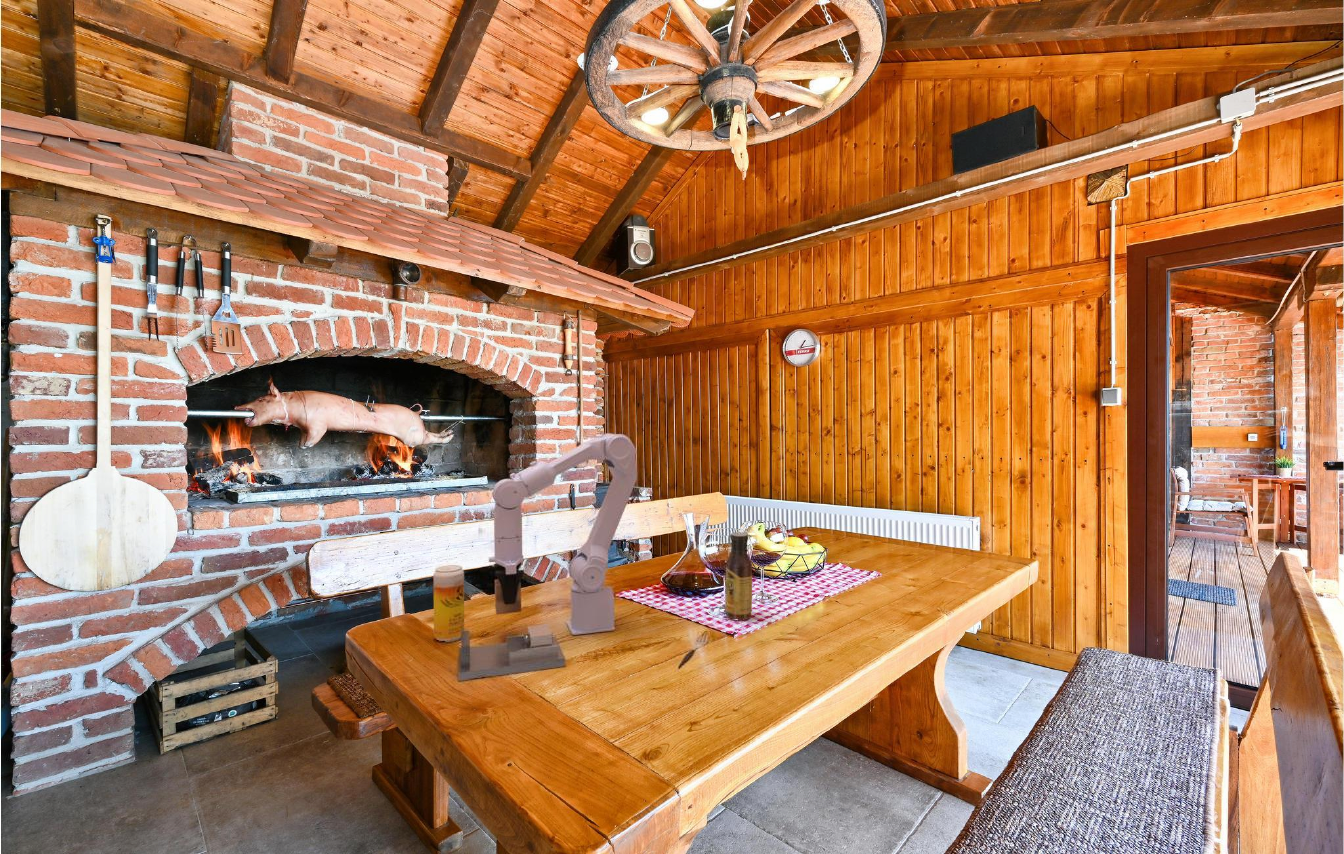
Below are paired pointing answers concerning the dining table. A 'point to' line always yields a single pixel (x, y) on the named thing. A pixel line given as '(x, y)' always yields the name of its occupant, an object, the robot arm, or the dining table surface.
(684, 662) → the fork
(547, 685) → the dining table surface
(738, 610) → the sauce bottle
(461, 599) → the beer can
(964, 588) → the dining table surface
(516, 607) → the block
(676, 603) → the dining table surface
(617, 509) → the robot arm
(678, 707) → the dining table surface
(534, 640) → the ram
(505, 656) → the press frame
